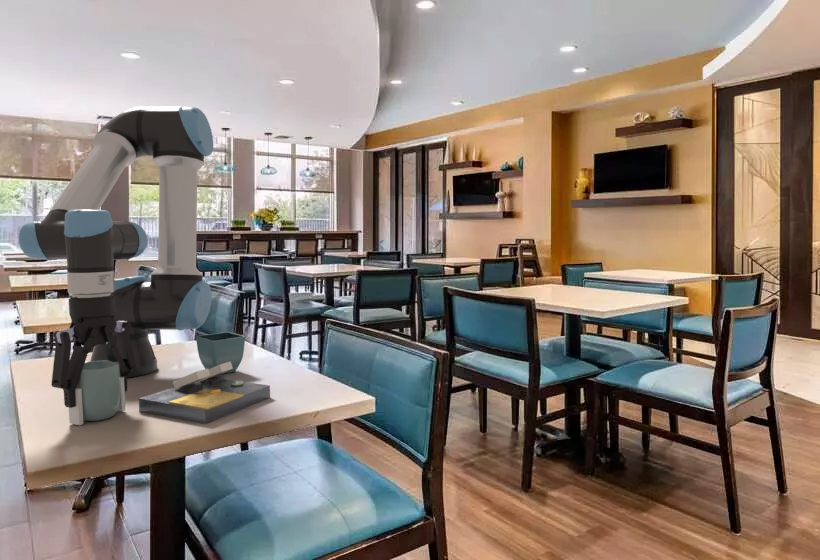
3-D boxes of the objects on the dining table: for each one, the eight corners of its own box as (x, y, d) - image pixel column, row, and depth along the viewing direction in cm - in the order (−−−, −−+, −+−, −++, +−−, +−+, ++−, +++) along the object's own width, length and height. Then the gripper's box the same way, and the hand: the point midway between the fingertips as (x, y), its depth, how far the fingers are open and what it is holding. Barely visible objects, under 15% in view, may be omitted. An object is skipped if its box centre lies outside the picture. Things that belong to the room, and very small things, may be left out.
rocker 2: (199, 381, 123) (196, 373, 123) (210, 378, 126) (207, 370, 126) (222, 371, 120) (219, 363, 120) (233, 368, 123) (230, 360, 123)
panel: (139, 411, 112) (138, 394, 111) (208, 387, 128) (207, 373, 127) (206, 423, 104) (206, 406, 104) (271, 397, 120) (270, 381, 120)
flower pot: (247, 371, 142) (246, 335, 141) (213, 378, 136) (212, 340, 135) (228, 366, 148) (227, 331, 147) (196, 372, 142) (194, 336, 141)
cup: (86, 411, 111) (83, 360, 110) (128, 410, 112) (126, 359, 111) (66, 425, 104) (62, 370, 103) (111, 424, 104) (108, 369, 103)
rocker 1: (175, 389, 117) (172, 380, 117) (187, 385, 120) (184, 377, 120) (198, 379, 114) (195, 371, 114) (210, 375, 117) (207, 367, 117)
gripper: (48, 302, 95) (56, 437, 97) (154, 290, 113) (158, 403, 115) (20, 300, 98) (28, 431, 100) (127, 288, 117) (132, 399, 119)
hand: (98, 416), depth 108 cm, fingers closed on cup, 8 cm apart
